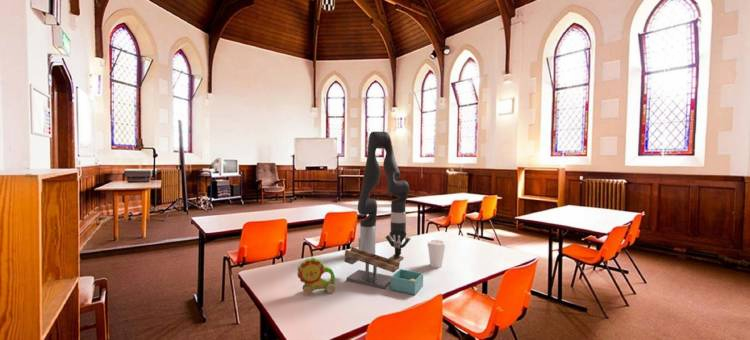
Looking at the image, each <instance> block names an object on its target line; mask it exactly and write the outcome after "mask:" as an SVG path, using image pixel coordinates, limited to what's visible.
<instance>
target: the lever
mask: <svg viewBox="0 0 750 340" xmlns="http://www.w3.org/2000/svg"><path fill="white" fill-rule="evenodd" d="M403 260H404V256H403V255H400V256H396V254H395V253H394V254H393V255H391V256H389V258H387V257H385V256H382V255H378V254H376V253H375V254H372V253H369V252H366V251H363V250H360V249H359V248H357V247H354V246H351V247H350V250H348V249H345V250H344V263H347V264H349V265H355V263H357V262H362V263H364V264H366V262H369V266H376V267H377V268H379V269H382V270H385V271H388V272H391V273H394V274H395V273H396V271H398V270H400V266H401V265H400V264H401V261H403Z"/></svg>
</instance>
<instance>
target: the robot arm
mask: <svg viewBox="0 0 750 340" xmlns="http://www.w3.org/2000/svg"><path fill="white" fill-rule="evenodd" d="M367 142H368V144H367V155H366V162H365V165H364V166H365V168H364V173H363V178H362V179H363V180H362V186H361V190H360V195H359V197H358V204H357V212H358V214H359V215H362V216H363V215H365V216H366V215H367V216H366V217H364V218H363V219H361V220H360V221H359V224H360V225H359V226H360V229H359V238H358V249H360V250H363V251H366V252H369V253H372V254H375V255H376V233H377V232H376V228H377V227H376V225H377V217H378V216H377V214H378V213H377V212H378V202H377V200H376V198H369V195H370V193H371V192H372V191H373V190H374V189H375V188H376V186H378V184H379V182H380V179H381V178H380V177H381V173H382V170H381V166H380V164H379V162H378V160H377V157H376V152H377V149H383V150H385V158H384V159H383V164H382V167H383V170H384V173H385V175H386V183H387V186H386V187H387V192H388V193H389V194H390V195H392V196H398V197H397V198H395V199H393V200H392V201H391V203H390V206H391V207H390V232H389V234H388V235H386V236H385V238H386V240H387V242H388V243H389V244H390V246H391V247H393V248H394V254H396V256H401V254H402V249H403V248H404V247H405V246H407V244H408V243H409V242H410V240H411V238H412V237H409V236H408V235H407V230H406V229H407V216H406V215H407V214H406V204H407V203H406V202H407V199H408V195H409V192H410V185H409V182H408V181H407V180H405V179H403V180H402V179H401V180H398V179H399V178H400V177H401V172H400V169H399V167H398V164H397V161H396V157H395V154H394V147H393V143H392V139H391V135H390V134H389V132H387V131H371V132H370V134H369V136H368V141H367ZM403 241H404V242H403Z"/></svg>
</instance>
